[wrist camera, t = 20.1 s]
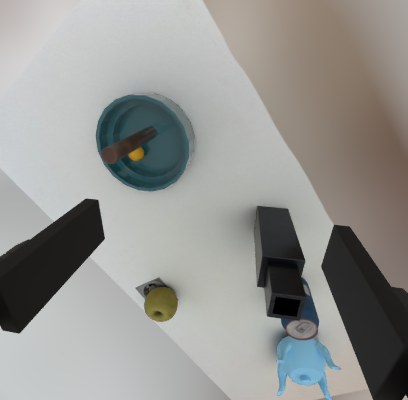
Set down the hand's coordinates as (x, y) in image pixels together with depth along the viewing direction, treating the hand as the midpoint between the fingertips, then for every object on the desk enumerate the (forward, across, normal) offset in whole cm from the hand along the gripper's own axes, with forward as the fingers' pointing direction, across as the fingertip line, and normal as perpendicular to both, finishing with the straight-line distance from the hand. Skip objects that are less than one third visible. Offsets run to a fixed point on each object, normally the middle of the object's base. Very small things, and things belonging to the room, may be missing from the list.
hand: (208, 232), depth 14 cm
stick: (+33, -15, -2) cm, 36 cm away
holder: (+34, +9, -18) cm, 39 cm away
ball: (+31, -18, -5) cm, 37 cm away
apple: (+34, -14, -42) cm, 56 cm away
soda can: (+34, +16, -34) cm, 51 cm away
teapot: (+34, +21, -53) cm, 66 cm away
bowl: (+34, -15, -3) cm, 37 cm away
